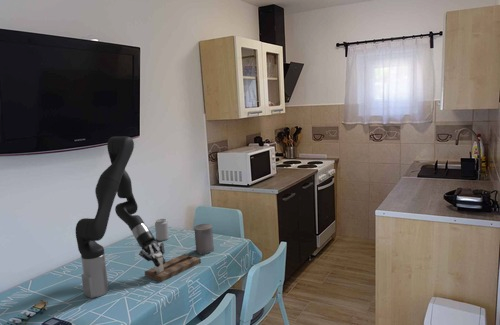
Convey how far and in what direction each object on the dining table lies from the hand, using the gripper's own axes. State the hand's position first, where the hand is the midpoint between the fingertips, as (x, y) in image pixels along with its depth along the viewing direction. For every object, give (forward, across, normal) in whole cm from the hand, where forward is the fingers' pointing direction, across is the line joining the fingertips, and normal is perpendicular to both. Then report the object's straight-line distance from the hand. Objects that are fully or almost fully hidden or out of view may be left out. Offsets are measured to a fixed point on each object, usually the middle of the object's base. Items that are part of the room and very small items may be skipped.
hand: (161, 264), depth 180 cm
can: (-25, +34, +34) cm, 54 cm away
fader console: (+3, +8, +6) cm, 11 cm away
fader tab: (+2, 0, +5) cm, 5 cm away
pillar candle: (0, +34, +9) cm, 35 cm away
